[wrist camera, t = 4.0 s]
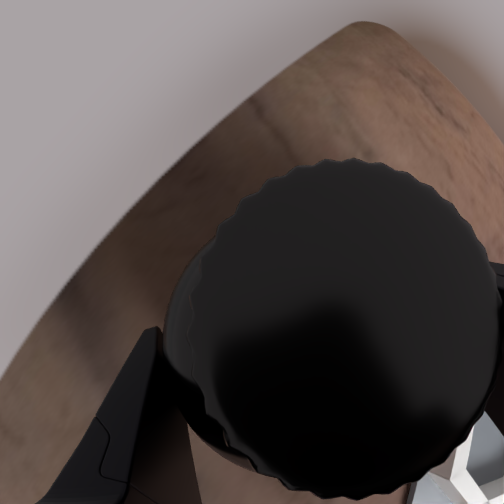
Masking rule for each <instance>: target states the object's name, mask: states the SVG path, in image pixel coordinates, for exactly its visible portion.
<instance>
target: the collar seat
mask: <svg viewBox="0 0 504 504" xmlns="http://www.w3.org/2000/svg"><path fill="white" fill-rule="evenodd" d="M406 504H504V437H503V435H502V434H501V432H500V431H499V430H498V428H497V427H496V426H495V424H494V423H493V421H492V420H491V419H490V417H489V416H488V415H487V413H486V412H485V411H484V414H483V416H482V417H481V418H480V419H479V420H478V422H477V423H476V424H475V425H474V426H473V428H472V430H471V432H470V434H469V436H468V438H467V440H466V441H465V442H464V443H462V444H461V445H460V446H458V447H457V448H455V449H454V451H453V452H452V453H451V455H450V457H449V458H448V459H447V460H446V462H445V463H443V464H441V465H439V466H437V467H434V468H432V469H431V470H430V471H429V472H428V473H427V474H426V475H425V476H424V477H423V478H422V479H421V480H419V481H417V482H413V483H411V487H410V491H409V495H408V499H407V503H406Z"/></svg>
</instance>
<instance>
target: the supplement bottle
mask: <svg viewBox="0 0 504 504" xmlns="http://www.w3.org/2000/svg"><path fill="white" fill-rule="evenodd" d="M503 337H504V324H503V319H502V299H501V296H500V294H499V291H498V288H497V278H496V273H495V272H494V270H493V268H492V266H491V265H490V263H489V260H488V256H487V253H486V249H485V247H484V246H483V245H482V244H481V243H480V241H479V240H478V239H477V237H476V235H475V233H474V231H473V228H472V226H471V224H469V223H468V222H467V221H466V220H465V219H463V218H462V217H461V216H460V214H459V213H458V211H457V209H456V208H455V206H454V205H453V204H452V203H451V202H449V201H447V200H445V199H443V198H442V197H441V196H440V195H439V194H438V193H437V191H436V190H435V189H434V188H433V187H432V186H430V185H427V184H424V183H421V182H419V181H418V180H417V179H416V178H414V177H413V176H412V175H411V174H409V173H408V172H404V171H396V170H394V169H392V168H391V167H389V166H387V165H385V164H384V163H367V162H364V161H362V160H359V159H356V158H351V159H347V160H344V161H342V162H340V161H335V160H329V159H324V160H322V161H320V162H318V163H317V164H315V165H313V166H309V165H303V166H296V167H294V168H293V169H292V170H290V171H289V172H288V173H287V174H286V175H285V176H281V177H274V178H270V179H267V181H266V182H265V183H264V184H263V186H262V187H261V189H260V190H259V192H256V193H254V194H251V195H248V196H246V197H244V198H242V199H241V201H240V203H239V204H238V206H237V209H236V212H235V214H234V215H233V216H231V217H230V218H228V219H226V220H224V221H223V222H222V223H221V224H219V225H218V227H217V231H216V235H215V236H214V237H213V238H212V239H211V240H209V241H208V242H207V243H206V244H205V245H204V246H203V247H202V248H201V249H200V250H199V251H198V252H197V253H196V254H195V256H194V257H193V258H192V260H191V261H190V262H189V264H188V265H187V266H186V268H185V269H184V271H183V273H182V274H181V276H180V278H179V280H178V282H177V284H176V286H175V288H174V290H173V292H172V295H171V298H170V301H169V304H168V307H167V311H166V315H165V320H164V327H163V340H162V351H163V363H164V368H165V373H166V378H167V381H168V385H169V388H170V391H171V393H172V396H173V398H174V400H175V403H176V405H177V407H178V408H179V410H180V412H181V414H182V416H183V417H184V419H185V420H186V421H187V423H188V424H189V426H190V427H191V428H192V430H193V431H194V432H195V433H196V434H197V435H198V436H199V437H200V439H201V440H202V441H204V442H205V443H206V444H207V445H208V446H209V447H210V448H211V449H213V450H214V451H215V452H217V453H218V454H219V455H221V456H222V457H224V458H225V459H227V460H229V461H230V462H232V463H234V464H236V465H238V466H240V467H242V468H245V469H247V470H249V471H252V472H256V473H259V474H262V475H265V476H269V477H274V478H277V479H278V481H279V482H280V483H281V484H282V485H283V486H284V487H285V488H286V489H288V490H292V491H310V492H311V493H312V494H314V495H315V496H317V497H319V498H321V499H331V498H337V497H341V496H343V497H346V498H348V499H351V500H356V501H357V500H360V499H363V498H366V497H369V496H371V495H373V494H390V493H392V492H394V491H395V490H397V489H398V488H399V487H401V486H402V485H404V484H408V483H413V482H417V481H419V480H421V479H422V478H423V477H424V476H425V475H426V474H427V473H428V472H429V471H430V470H431V469H432V468H434V467H437V466H439V465H441V464H443V463H445V462H446V460H447V459H448V458H449V457H450V455H451V453H452V452H453V451H454V449H455V448H457V447H458V446H460V445H461V444H462V443H464V442H465V441H466V440H467V438H468V436H469V434H470V432H471V430H472V428H473V426H474V425H475V424H476V423H477V422H478V420H479V419H480V418H481V417H482V416H483V414H484V411H485V408H486V404H487V401H488V399H489V397H490V396H491V394H492V392H493V391H494V389H495V385H496V378H497V371H498V369H499V367H500V364H501V361H502V341H503Z"/></svg>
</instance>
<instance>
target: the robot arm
mask: <svg viewBox="0 0 504 504" xmlns="http://www.w3.org/2000/svg"><path fill="white" fill-rule="evenodd" d="M489 263H490V265H491V266H492V268H493V270H494V272H495V273H496V278H497V288H498V291H499V294H500V296H501V299H502V319H503V324H504V264H500V263H494V262H489ZM162 340H163V334H162V332H161V330H160V328H159V327H157V326H155V327H152V328H149V329H146V330H144V331H143V333H142V335H141V336H140V338H139V340H138V341H137V343H136V345H135V347H134V348H133V350H132V352H131V353H130V355H129V357H128V358H127V360H126V362H125V364H124V365H123V367H122V369H121V370H120V372H119V374H118V376H117V377H116V379H115V381H114V383H113V384H112V386H111V388H110V390H109V392H108V393H107V395H106V397H105V399H104V400H103V402H102V404H101V406H100V408H99V409H98V411H97V413H96V417H94V418H93V420H92V422H91V424H90V426H89V428H88V429H87V431H86V433H85V435H84V436H83V438H82V440H81V442H80V443H79V445H78V446H77V448H76V449H75V451H74V453H73V454H72V456H71V457H70V459H69V460H68V462H67V463H66V465H65V466H64V468H63V469H62V471H61V473H60V474H59V476H58V477H57V479H56V480H55V482H54V483H53V485H52V486H51V488H50V489H49V491H48V492H47V493H46V495H45V496H44V497H43V498H42V499H41V500H39V501H38V502H37V503H35V504H202V502H201V497H200V493H199V488H198V483H197V478H196V473H195V467H194V462H193V457H192V451H191V445H190V439H189V433H188V427H187V421H186V420H185V419H184V417H183V416H182V414H181V412H180V410H179V408H178V407H177V405H176V403H175V400H174V398H173V396H172V393H171V391H170V388H169V385H168V381H167V378H166V373H165V368H164V363H163V351H162ZM485 412H486V413H487V415H488V416H489V417H490V419H491V420H492V421H493V423H494V424H495V426H496V427H497V428H498V430H499V431H500V432H501V434H502V435H503V437H504V337H503V341H502V361H501V364H500V367H499V369H498V371H497V378H496V385H495V389H494V391H493V392H492V394H491V396H490V397H489V399H488V401H487V404H486V408H485Z"/></svg>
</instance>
